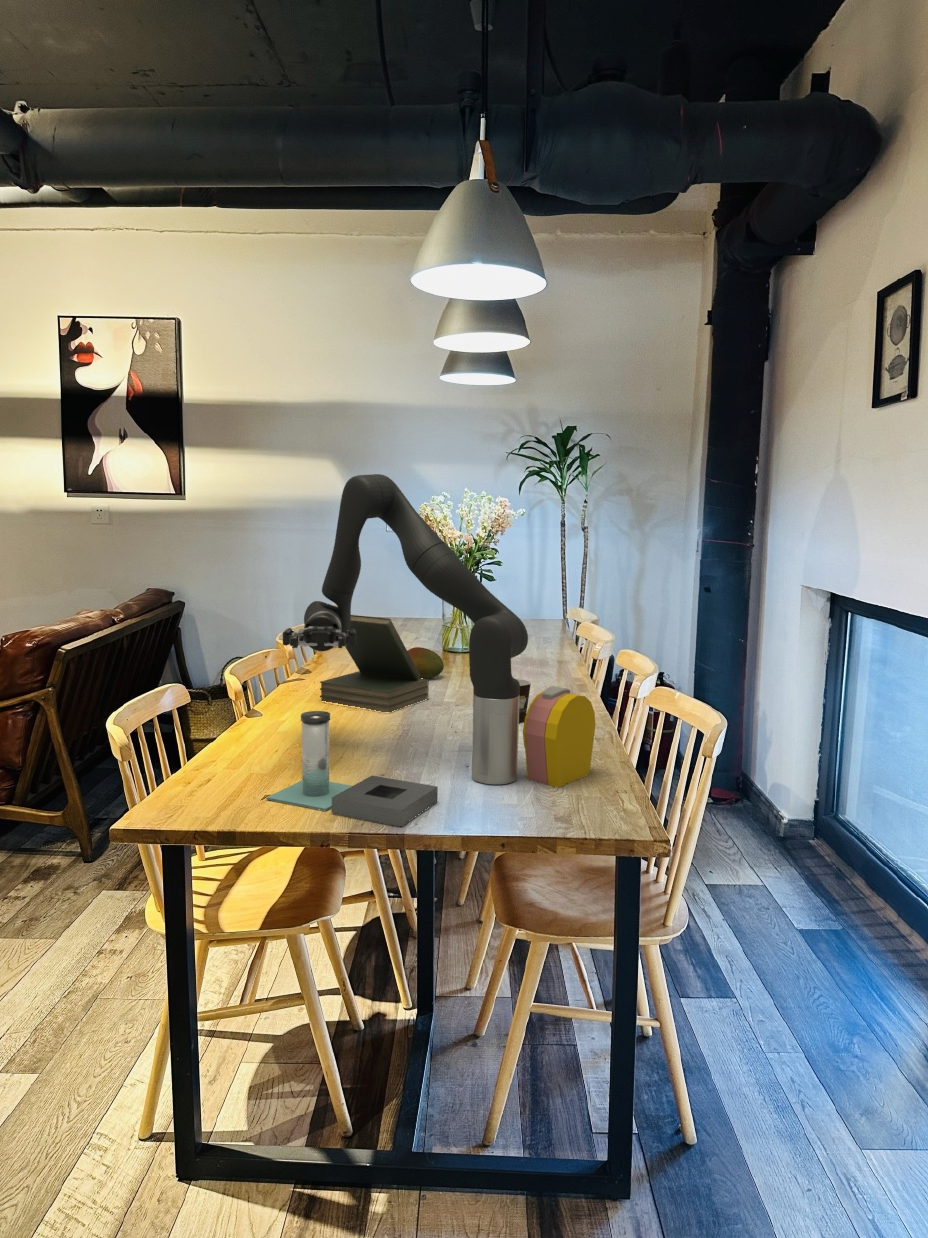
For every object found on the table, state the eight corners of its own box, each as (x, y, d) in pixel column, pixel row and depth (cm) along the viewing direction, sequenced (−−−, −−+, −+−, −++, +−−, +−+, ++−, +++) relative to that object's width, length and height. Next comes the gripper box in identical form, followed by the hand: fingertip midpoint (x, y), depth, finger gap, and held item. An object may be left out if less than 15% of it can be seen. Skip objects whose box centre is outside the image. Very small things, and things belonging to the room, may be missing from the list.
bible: (428, 701, 242) (429, 612, 239) (388, 715, 225) (388, 620, 222) (362, 690, 253) (362, 606, 250) (319, 703, 236) (319, 613, 233)
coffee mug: (527, 716, 225) (528, 678, 224) (531, 724, 217) (532, 685, 215) (483, 715, 225) (484, 678, 223) (485, 724, 216) (486, 685, 215)
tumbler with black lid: (319, 785, 166) (318, 709, 164) (336, 792, 162) (336, 714, 160) (295, 791, 162) (295, 714, 160) (312, 799, 158) (312, 719, 156)
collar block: (371, 790, 165) (371, 775, 165) (437, 802, 159) (437, 786, 159) (331, 813, 152) (331, 797, 152) (401, 827, 147) (401, 810, 146)
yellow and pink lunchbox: (560, 764, 184) (563, 680, 182) (593, 772, 179) (597, 685, 176) (519, 780, 173) (522, 691, 170) (553, 789, 167) (556, 697, 165)
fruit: (398, 676, 274) (398, 645, 273) (434, 673, 279) (434, 643, 278) (411, 683, 264) (411, 651, 262) (448, 680, 269) (449, 649, 268)
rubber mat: (307, 780, 170) (307, 777, 170) (363, 790, 165) (363, 787, 165) (266, 800, 159) (266, 797, 159) (325, 811, 153) (325, 808, 153)
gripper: (288, 612, 179) (279, 623, 163) (357, 612, 180) (355, 623, 164) (288, 647, 180) (279, 662, 164) (357, 648, 181) (355, 662, 165)
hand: (317, 642), depth 164 cm, fingers open, 8 cm apart
